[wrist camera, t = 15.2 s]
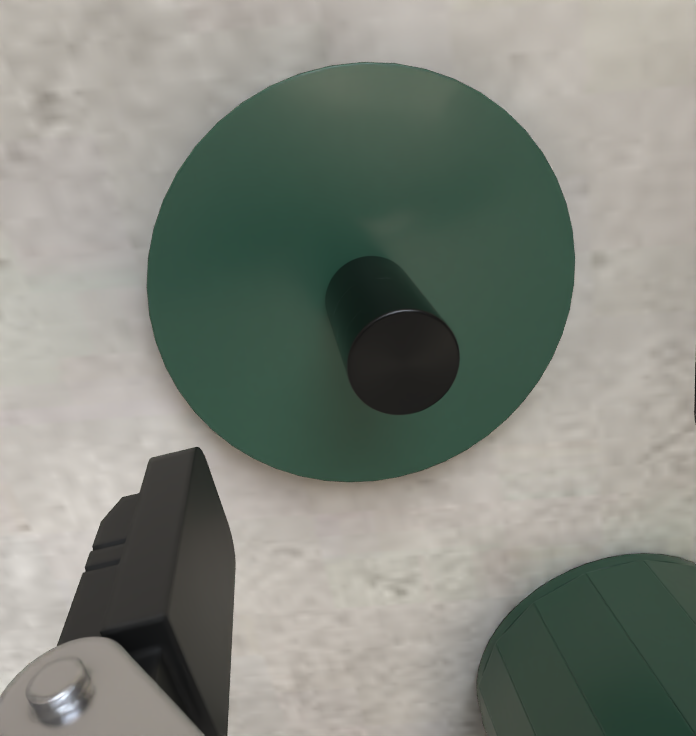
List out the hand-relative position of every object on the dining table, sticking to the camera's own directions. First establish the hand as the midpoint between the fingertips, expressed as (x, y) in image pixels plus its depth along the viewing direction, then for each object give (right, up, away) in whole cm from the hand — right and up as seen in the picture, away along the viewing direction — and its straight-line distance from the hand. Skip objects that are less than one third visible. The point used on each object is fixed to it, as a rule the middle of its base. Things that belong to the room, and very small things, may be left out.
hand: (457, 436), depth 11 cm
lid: (-1, +3, +9) cm, 10 cm away
